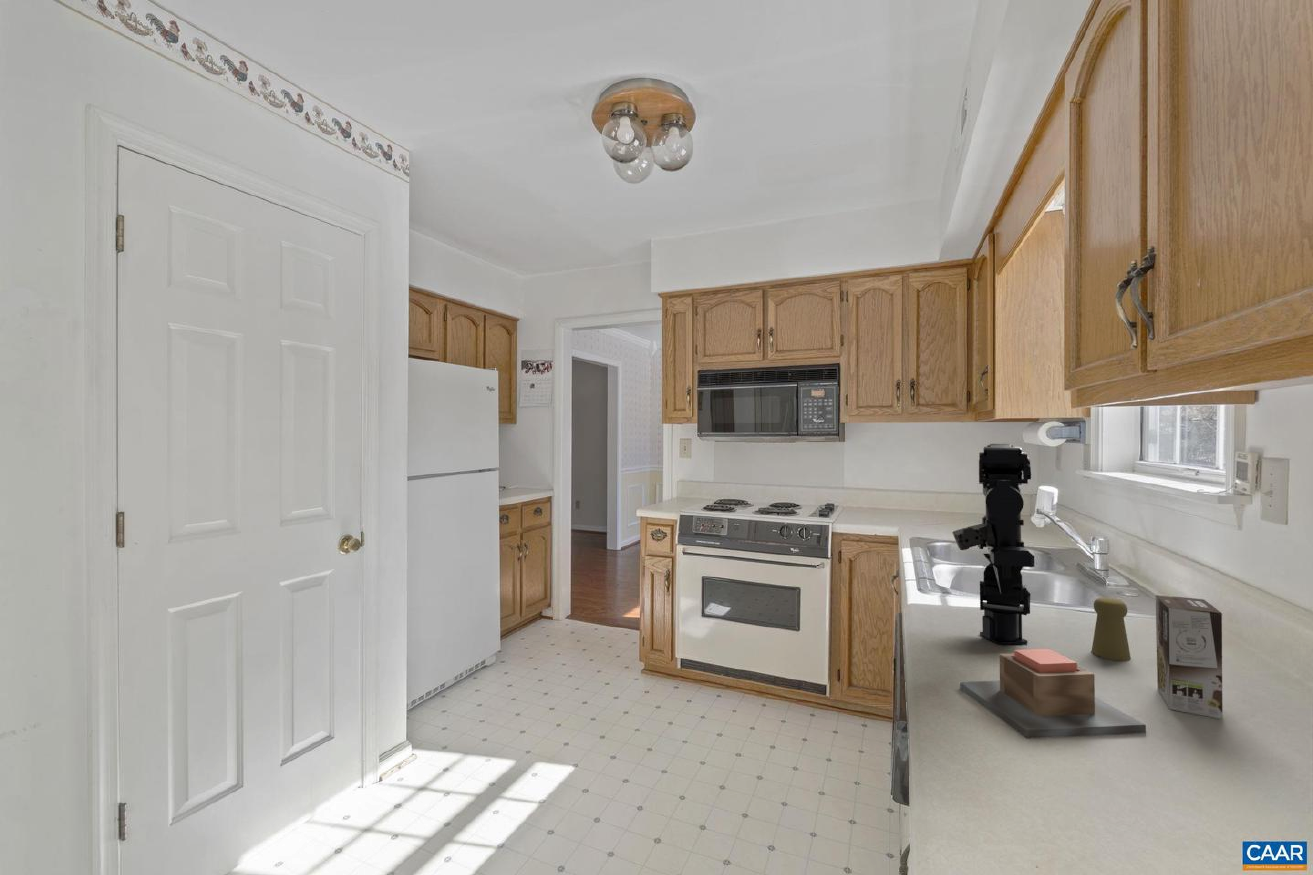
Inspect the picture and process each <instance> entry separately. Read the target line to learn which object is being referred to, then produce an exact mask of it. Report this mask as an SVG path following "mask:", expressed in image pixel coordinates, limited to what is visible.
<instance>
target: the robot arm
mask: <svg viewBox="0 0 1313 875" xmlns="http://www.w3.org/2000/svg"><path fill="white" fill-rule="evenodd" d="M978 458H979V459H978V482H979V483H978V484H980V485H982V493H983V495H984V497H985V515H983V517H981V518H982V519H981V520H982V522H981V523H978V524H974V525H971V526H970V525H969V526H967V527H963V528H961V529H959V528H958V529H956V530H954V531H952V536H953V538H954V540H955V543H956V545H957V547H958V548H959V550H960V551H965V550H969V549H970V548H972V547H978V548H979V550H984V548H987V553H983V556H984V557H985V559H986V560H987V561H988V562H989V564H988V565H986V566H985V568H984V570H983V581H982V580H979V597H980V598H979V608H980V609H979V610H980V611H983V615H982V621H981V622H982V623H981V625H982V631H979V635H981V636H982V637H984V638H986V639H988V640H990V641H991V642H994V643H995V644H997V645H1021V644H1028V642H1029V641H1028V640H1027V639H1025V638H1023V616H1028V615H1030V614H1031V592H1030V591H1029V589H1027V585H1024V584H1023V574H1022V573H1021V572H1022V570H1023V569H1024V568H1035V555H1033V553H1032V552H1030V551H1029V549H1026V548H1025V542H1024V541H1023V540H1022V526H1024V524H1025V523H1024V521H1025V520H1024V519H1023V518H1022V511H1023V509H1024V502H1025V501H1024V499H1023V496H1022V494H1021V488H1020V486H1022V485H1028V484H1029V481H1028V480H1032V471H1031V469H1032V468H1031V459H1030V457H1029V456H1028V453H1026V452H1023V449H1022V447H1021V446H1014V444H1011V443H990V444H987V445H986V446H984V447H983V452H981V451H980V452H979V456H978Z"/></svg>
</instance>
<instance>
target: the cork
mask: <svg viewBox="0 0 1313 875" xmlns="http://www.w3.org/2000/svg"><path fill="white" fill-rule="evenodd" d="M1093 609H1094V612H1095V613H1096V621H1095V626H1094V634H1093V640H1092V647H1091V653H1092V655H1095V656H1097V657H1100V658H1103V659H1106V660H1111V661H1118V662H1119V661H1121V662H1127V661H1130V660H1131V658H1132V657H1131V652H1130V648H1129V646H1130V645H1129V642H1128V635H1127V629H1126V623H1125V619H1124V618H1125V617H1126V616H1128V607H1127V604H1126V603H1125V602H1124V601H1123V600H1121V599H1117V598H1114V597H1105V596H1104V597H1102V596H1101V597H1098V598H1095V600H1094V601H1093Z"/></svg>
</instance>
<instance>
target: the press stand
mask: <svg viewBox="0 0 1313 875" xmlns="http://www.w3.org/2000/svg"><path fill="white" fill-rule="evenodd" d="M998 656H999V680H983V681H981V680H979V681H978V680H977V681H960V682H959V690H961V691H962V692H964V693H965V694H966V695H967V696H969V697H970V698H971V699H973V700H974V701H976V702H977V703H978V704H979V705H981V706H983V708H985V709H986V710H988V711H989V712H990V713H992V714H993V715H995V716H996V717H997V718H998V719H999V720H1001V721H1003V722H1004V723H1005V724H1007V725H1008V726H1010V727H1011V728H1012V729H1013V730H1015V731H1016V732H1017V733H1019V734H1020V735H1021V736H1023V737H1024V738H1026V739H1039V738H1040V739H1041V738H1042V739H1043V738H1045V739H1046V738H1061V737H1066V738H1067V737H1082V736H1083V737H1085V736H1086V737H1088V736H1089V737H1090V736H1105V735H1106V736H1109V735H1110V736H1111V735H1130V734H1131V735H1132V734H1133V735H1134V734H1146V733H1147V724H1146V723H1144V722H1141V721H1140V720H1139V719H1136V718H1134V717H1132V716H1131V715H1129V714H1127V713H1125V712H1123V711H1122V710H1120V709H1118V708H1117V707H1114V706H1112V705H1111V704H1109V703H1107V702H1105V701H1104V700H1101V699H1100V698H1098V697H1096V696H1095V695H1096V693H1095V686H1096V685H1095V682H1096V681H1095V673H1093V672H1092V671H1090V670H1087V669H1085V668H1083V667H1081V666H1079V665H1077V672H1051V673H1039V672H1038V671H1036V670H1034V669H1032V668H1030V667H1029V666H1027V665H1025V664H1023V663H1021V662H1020V661H1018V660H1016V659H1014V652H1013V653H999V655H998Z"/></svg>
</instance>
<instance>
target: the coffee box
mask: <svg viewBox="0 0 1313 875" xmlns="http://www.w3.org/2000/svg"><path fill="white" fill-rule="evenodd" d="M1155 625H1156V626H1155V628H1156V629H1155V630H1156V636H1155V637H1156V638H1155V639H1156V668H1157V670H1156V671H1157V672H1156V673H1157V680H1156V681H1157V690H1158V692H1159V693H1160V695H1161V697H1162V699H1163V700H1164V702H1165V704H1167V708H1168V709H1169V710H1172V711H1178V712H1183V713H1188V714H1194V715H1198V716H1203V717H1204V716H1205V717H1208V718H1209V717H1210V718H1213V719H1219V720H1221V719H1223V613H1222V612H1221V611H1220V610H1219V609H1217V608H1216V606H1215V607H1214V606H1213V605H1212V604H1211V603H1209V602H1208V601H1207V600H1205V599H1202V598H1197V597H1196V598H1193V597H1183V596H1168V595H1158V594H1156V595H1155Z"/></svg>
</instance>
